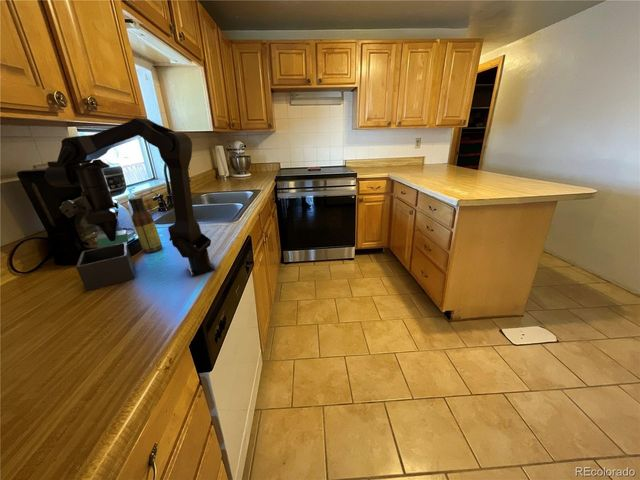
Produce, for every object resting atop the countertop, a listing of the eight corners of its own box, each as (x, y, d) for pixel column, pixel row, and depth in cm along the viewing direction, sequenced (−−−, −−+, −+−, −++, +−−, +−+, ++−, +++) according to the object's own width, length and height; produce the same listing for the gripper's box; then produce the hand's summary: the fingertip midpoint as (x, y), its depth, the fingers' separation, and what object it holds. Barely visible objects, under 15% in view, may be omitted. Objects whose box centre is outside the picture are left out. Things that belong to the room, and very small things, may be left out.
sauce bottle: (164, 245, 102) (149, 194, 95) (160, 251, 97) (145, 198, 89) (145, 248, 100) (128, 196, 93) (140, 254, 95) (122, 200, 87)
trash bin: (134, 278, 79) (126, 255, 76) (86, 291, 73) (75, 267, 70) (133, 262, 89) (126, 242, 86) (90, 273, 83) (81, 251, 80)
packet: (128, 237, 83) (125, 229, 82) (128, 241, 79) (125, 233, 78) (100, 242, 79) (97, 234, 78) (99, 247, 76) (96, 239, 75)
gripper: (62, 185, 76) (82, 235, 82) (47, 195, 62) (72, 256, 67) (110, 180, 82) (125, 228, 88) (106, 189, 67) (125, 245, 73)
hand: (113, 238), depth 79 cm, fingers closed on packet, 5 cm apart
